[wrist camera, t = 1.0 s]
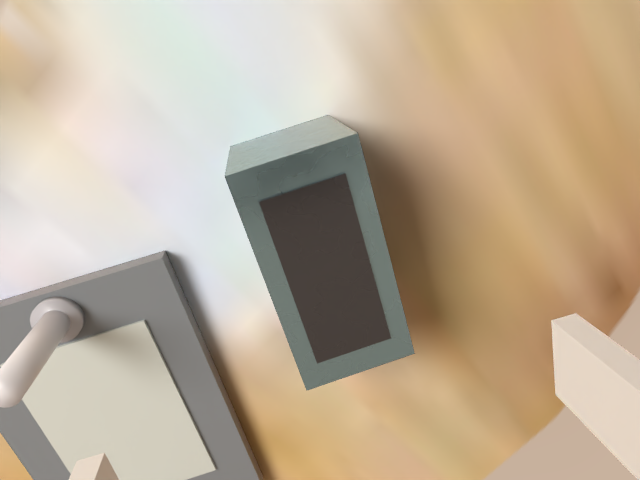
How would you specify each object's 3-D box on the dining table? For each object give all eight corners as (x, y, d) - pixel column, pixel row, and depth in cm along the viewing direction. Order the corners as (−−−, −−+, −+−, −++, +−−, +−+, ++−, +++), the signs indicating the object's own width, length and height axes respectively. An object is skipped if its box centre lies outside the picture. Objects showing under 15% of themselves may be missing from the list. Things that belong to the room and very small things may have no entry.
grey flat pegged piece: (165, 250, 29) (136, 317, 21) (263, 477, 36) (267, 586, 29) (-60, 318, 28) (-173, 412, 20) (87, 534, 36) (44, 662, 28)
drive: (327, 114, 27) (358, 133, 20) (375, 286, 32) (415, 355, 24) (230, 146, 27) (224, 177, 20) (292, 314, 32) (307, 392, 24)
